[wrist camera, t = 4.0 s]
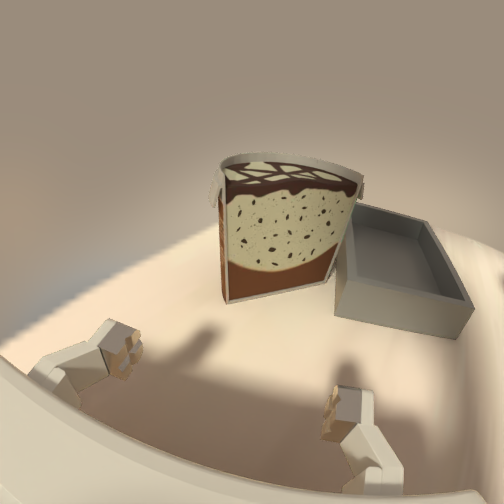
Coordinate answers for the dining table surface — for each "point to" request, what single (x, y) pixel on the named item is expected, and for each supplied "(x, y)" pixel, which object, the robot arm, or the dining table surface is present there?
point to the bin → (398, 275)
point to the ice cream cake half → (280, 221)
